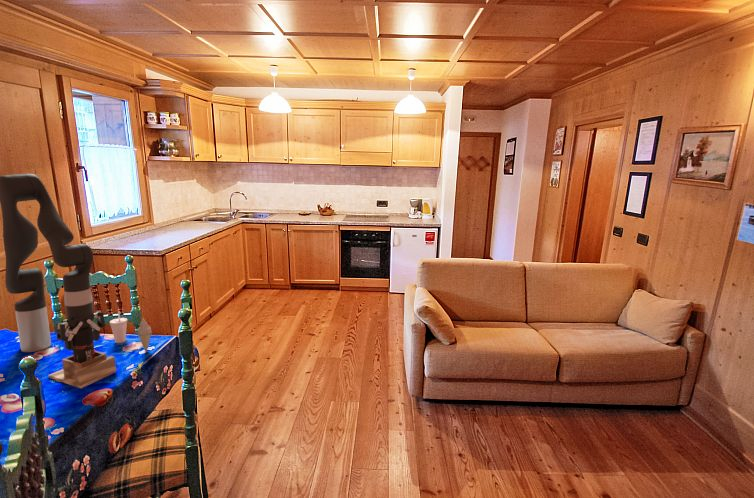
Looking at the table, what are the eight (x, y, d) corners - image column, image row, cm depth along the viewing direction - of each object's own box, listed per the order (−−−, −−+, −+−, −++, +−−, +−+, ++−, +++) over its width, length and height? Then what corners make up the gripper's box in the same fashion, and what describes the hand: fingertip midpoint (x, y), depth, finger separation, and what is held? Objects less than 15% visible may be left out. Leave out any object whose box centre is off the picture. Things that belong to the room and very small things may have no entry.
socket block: (64, 376, 130) (62, 359, 129) (91, 364, 139) (89, 348, 137) (81, 382, 127) (79, 364, 126) (107, 370, 136) (106, 353, 134)
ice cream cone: (140, 349, 154) (137, 315, 151) (154, 347, 156) (151, 314, 153) (137, 354, 150) (134, 320, 147) (152, 353, 152) (149, 318, 149)
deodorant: (86, 372, 130) (81, 332, 127) (70, 371, 130) (65, 331, 127) (100, 364, 135) (96, 326, 132) (85, 363, 136) (80, 325, 133)
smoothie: (120, 345, 157) (117, 314, 155) (107, 343, 158) (104, 312, 156) (132, 339, 163) (130, 309, 161) (120, 337, 165) (117, 307, 162)
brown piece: (48, 377, 131) (46, 361, 130) (85, 362, 142) (83, 348, 141) (80, 388, 125) (78, 372, 124) (116, 371, 137) (114, 356, 135)
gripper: (62, 309, 120) (68, 355, 123) (107, 297, 133) (111, 339, 136) (47, 306, 123) (53, 351, 126) (93, 294, 136) (97, 335, 139)
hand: (83, 344), depth 131 cm, fingers open, 8 cm apart
